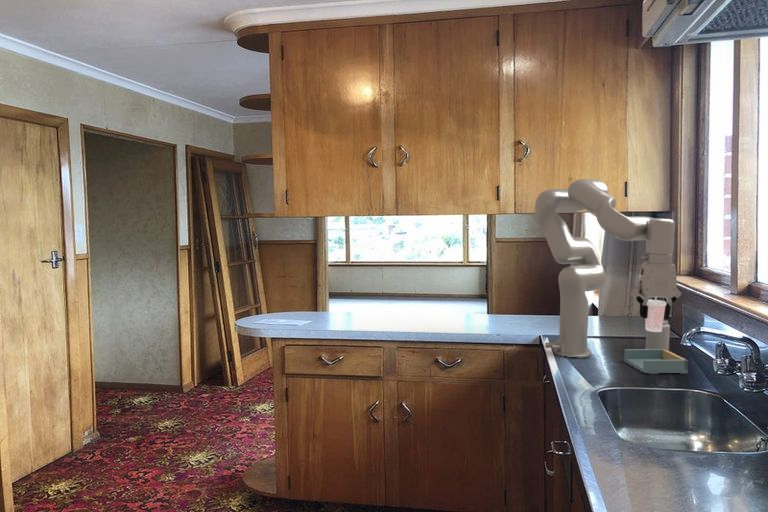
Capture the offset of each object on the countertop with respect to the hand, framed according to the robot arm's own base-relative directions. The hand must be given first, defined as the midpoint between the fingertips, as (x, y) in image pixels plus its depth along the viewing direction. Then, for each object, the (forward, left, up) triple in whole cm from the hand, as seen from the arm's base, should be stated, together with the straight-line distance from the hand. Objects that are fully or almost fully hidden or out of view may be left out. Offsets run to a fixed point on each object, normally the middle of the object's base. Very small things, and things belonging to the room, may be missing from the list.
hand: (654, 317), depth 179 cm
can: (+17, +28, -19) cm, 38 cm away
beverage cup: (0, 0, -4) cm, 4 cm away
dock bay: (+7, +11, -19) cm, 23 cm away
